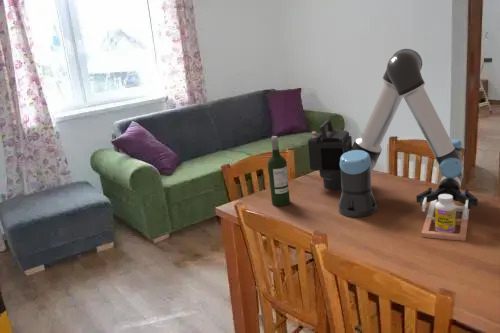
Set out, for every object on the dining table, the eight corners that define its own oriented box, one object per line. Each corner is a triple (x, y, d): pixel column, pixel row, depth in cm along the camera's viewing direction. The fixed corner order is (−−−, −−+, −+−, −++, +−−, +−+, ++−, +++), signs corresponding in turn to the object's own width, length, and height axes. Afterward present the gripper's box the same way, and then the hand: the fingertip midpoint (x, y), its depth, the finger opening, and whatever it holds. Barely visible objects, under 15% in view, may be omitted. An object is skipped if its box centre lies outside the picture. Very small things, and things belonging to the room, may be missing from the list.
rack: (433, 196, 201) (433, 192, 200) (470, 198, 195) (470, 194, 194) (421, 236, 169) (421, 232, 168) (465, 240, 162) (465, 236, 162)
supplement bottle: (434, 233, 170) (434, 199, 166) (435, 225, 176) (435, 192, 172) (455, 234, 167) (455, 200, 163) (455, 226, 173) (455, 193, 169)
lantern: (350, 191, 216) (346, 126, 207) (311, 190, 223) (306, 126, 214) (356, 180, 229) (353, 118, 220) (319, 179, 236) (314, 118, 227)
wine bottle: (281, 207, 208) (274, 140, 199) (268, 203, 213) (261, 138, 204) (293, 201, 212) (287, 135, 203) (281, 198, 218) (274, 133, 209)
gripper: (485, 198, 179) (484, 222, 161) (415, 194, 190) (406, 216, 173) (486, 179, 177) (485, 201, 159) (414, 176, 188) (406, 196, 170)
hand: (444, 209), depth 166 cm, fingers open, 13 cm apart
